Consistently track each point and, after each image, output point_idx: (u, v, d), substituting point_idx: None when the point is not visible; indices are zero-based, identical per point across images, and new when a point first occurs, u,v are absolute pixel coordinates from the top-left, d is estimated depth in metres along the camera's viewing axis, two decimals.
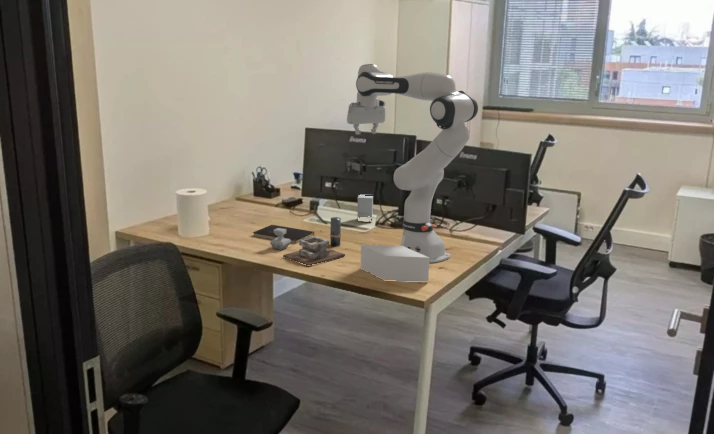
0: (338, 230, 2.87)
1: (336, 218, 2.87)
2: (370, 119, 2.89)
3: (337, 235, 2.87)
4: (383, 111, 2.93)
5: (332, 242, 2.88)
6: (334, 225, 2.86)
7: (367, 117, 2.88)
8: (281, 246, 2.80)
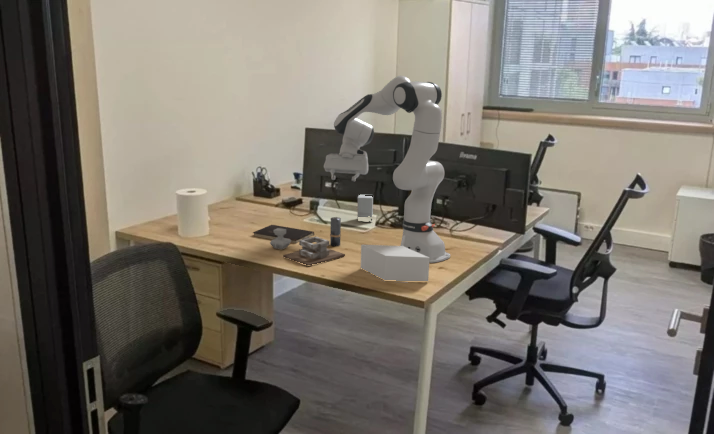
0: (338, 230, 2.87)
1: (336, 218, 2.87)
2: (346, 166, 2.96)
3: (337, 235, 2.87)
4: (364, 160, 2.96)
5: (332, 242, 2.88)
6: (334, 225, 2.86)
7: (343, 164, 2.97)
8: (281, 246, 2.80)
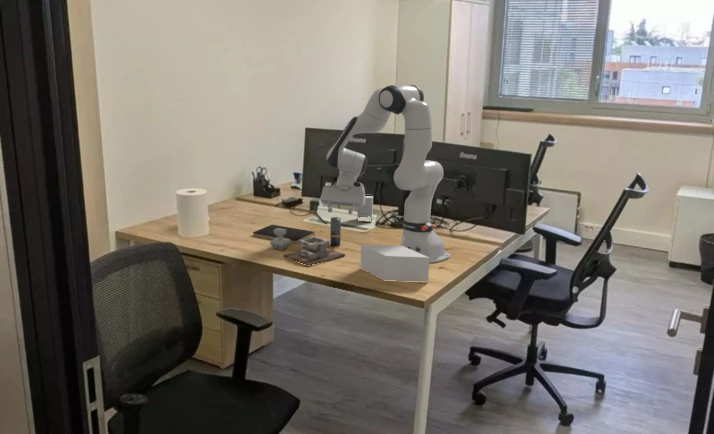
0: (338, 230, 2.87)
1: (336, 218, 2.87)
2: (343, 198, 2.95)
3: (337, 235, 2.87)
4: (361, 192, 2.95)
5: (332, 242, 2.88)
6: (334, 225, 2.86)
7: (340, 196, 2.96)
8: (281, 246, 2.80)
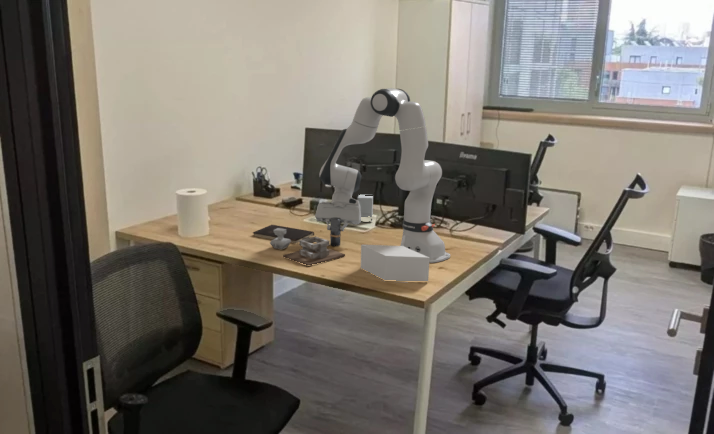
0: (338, 230, 2.87)
1: (336, 218, 2.87)
2: (338, 215, 2.89)
3: (337, 235, 2.87)
4: (356, 209, 2.89)
5: (332, 242, 2.88)
6: (334, 225, 2.86)
7: (335, 213, 2.90)
8: (281, 246, 2.80)
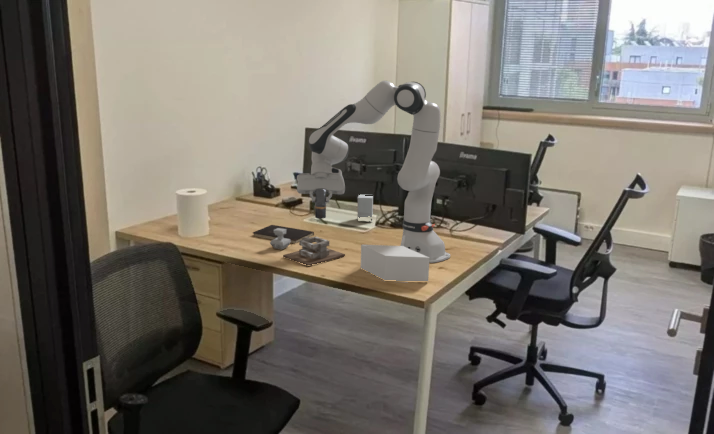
0: (324, 201, 2.75)
1: (321, 189, 2.75)
2: (322, 186, 2.77)
3: (323, 206, 2.75)
4: (340, 179, 2.79)
5: (318, 214, 2.76)
6: (321, 196, 2.73)
7: (319, 184, 2.77)
8: (281, 246, 2.80)
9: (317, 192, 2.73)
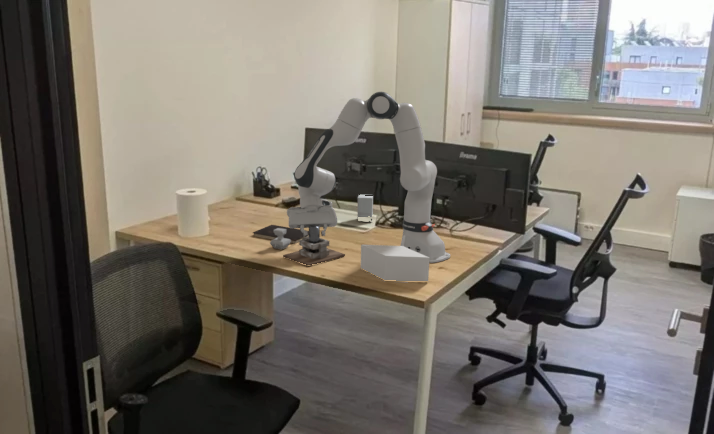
0: (318, 238, 2.71)
1: (314, 226, 2.70)
2: (315, 220, 2.72)
3: None
4: (332, 211, 2.75)
5: (313, 252, 2.71)
6: (315, 233, 2.69)
7: (311, 218, 2.72)
8: (281, 246, 2.80)
9: (311, 230, 2.69)
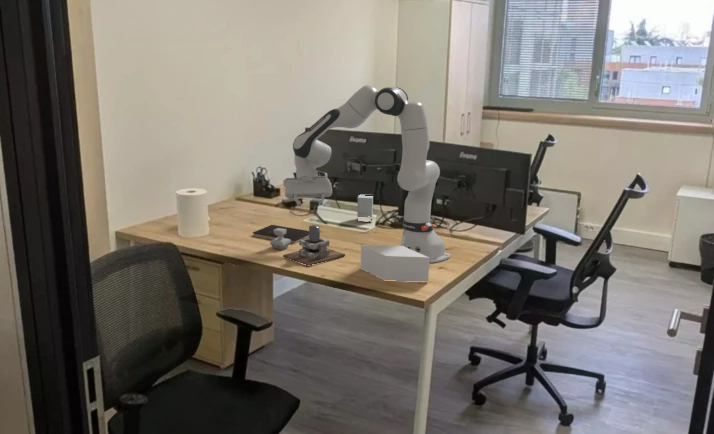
0: (319, 238, 2.71)
1: (315, 226, 2.70)
2: (310, 190, 2.81)
3: None
4: (327, 182, 2.84)
5: (313, 252, 2.71)
6: (316, 233, 2.69)
7: (307, 188, 2.81)
8: (281, 246, 2.80)
9: (311, 230, 2.69)
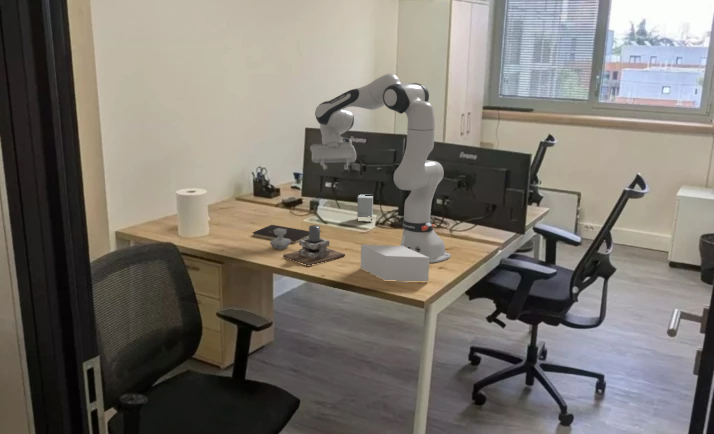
0: (319, 238, 2.71)
1: (315, 226, 2.70)
2: (336, 155, 2.96)
3: None
4: (352, 148, 2.99)
5: (313, 252, 2.71)
6: (316, 233, 2.69)
7: (332, 153, 2.96)
8: (281, 246, 2.80)
9: (311, 230, 2.69)
